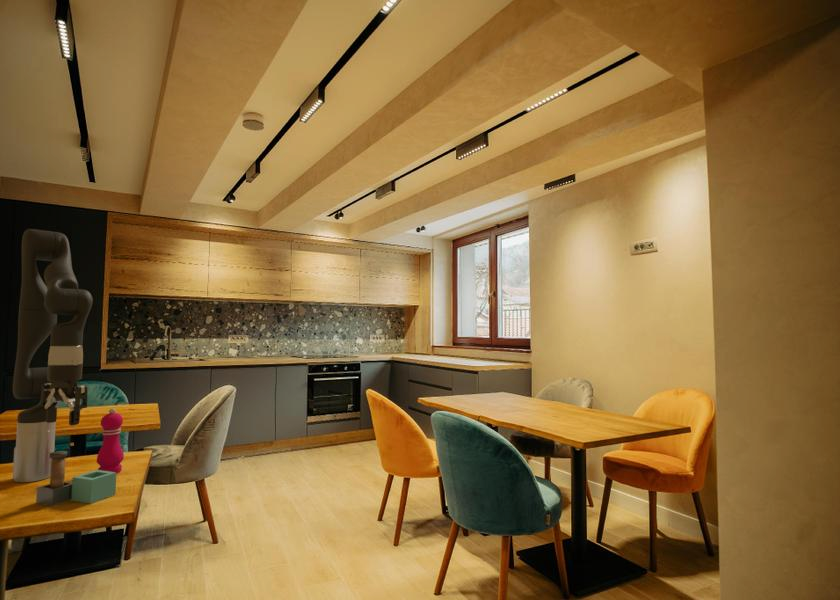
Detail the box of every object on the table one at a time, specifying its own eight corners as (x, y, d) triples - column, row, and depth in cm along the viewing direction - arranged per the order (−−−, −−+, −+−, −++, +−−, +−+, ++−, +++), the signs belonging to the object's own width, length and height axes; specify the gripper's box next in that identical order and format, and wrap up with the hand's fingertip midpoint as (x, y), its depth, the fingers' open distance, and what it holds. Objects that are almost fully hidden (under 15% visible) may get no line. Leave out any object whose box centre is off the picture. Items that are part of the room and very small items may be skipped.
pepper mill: (109, 476, 147) (112, 410, 148) (90, 475, 148) (93, 409, 150) (128, 469, 154) (131, 406, 155) (109, 468, 155) (112, 406, 157)
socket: (71, 500, 126) (72, 477, 127) (96, 491, 133) (97, 469, 133) (90, 503, 124) (91, 480, 125) (115, 494, 131) (116, 472, 131)
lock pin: (43, 502, 125) (46, 453, 126) (58, 497, 129) (61, 450, 129) (53, 504, 124) (56, 455, 125) (68, 499, 127) (71, 451, 128)
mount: (36, 503, 124) (36, 487, 125) (59, 495, 130) (60, 480, 130) (52, 506, 122) (53, 490, 123) (75, 498, 128) (76, 483, 128)
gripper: (32, 362, 127) (28, 424, 126) (70, 364, 123) (67, 428, 122) (61, 360, 134) (58, 419, 134) (98, 362, 130) (95, 423, 129)
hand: (62, 423), depth 128 cm, fingers open, 8 cm apart
